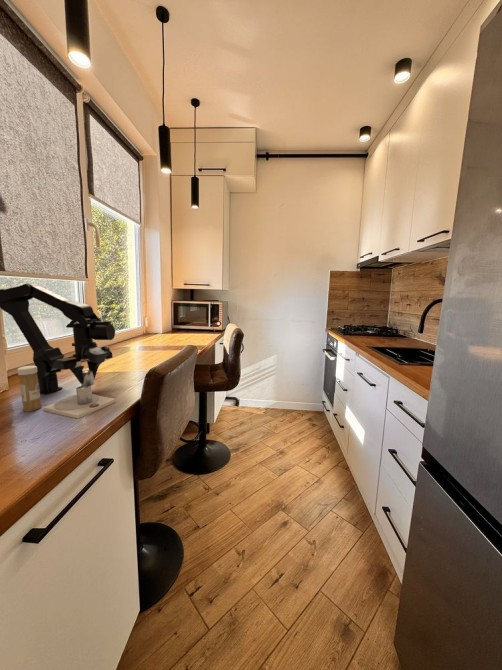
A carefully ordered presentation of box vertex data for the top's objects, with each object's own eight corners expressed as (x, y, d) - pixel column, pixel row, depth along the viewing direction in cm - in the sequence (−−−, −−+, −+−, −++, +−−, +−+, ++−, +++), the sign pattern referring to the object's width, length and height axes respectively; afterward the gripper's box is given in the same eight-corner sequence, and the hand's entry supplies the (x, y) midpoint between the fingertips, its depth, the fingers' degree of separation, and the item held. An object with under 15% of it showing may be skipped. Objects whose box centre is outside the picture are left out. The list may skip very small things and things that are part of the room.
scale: (43, 410, 80) (43, 405, 80) (83, 395, 92) (83, 391, 92) (77, 418, 75) (77, 413, 75) (115, 401, 87) (115, 397, 87)
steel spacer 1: (78, 385, 95) (77, 372, 94) (88, 382, 99) (87, 369, 98) (86, 387, 93) (85, 373, 93) (96, 383, 97) (95, 370, 96)
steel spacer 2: (74, 403, 82) (73, 388, 81) (86, 399, 85) (85, 384, 85) (83, 405, 80) (82, 390, 79) (95, 401, 84) (94, 386, 83)
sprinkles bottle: (40, 409, 81) (35, 367, 79) (21, 413, 78) (15, 369, 76) (42, 404, 85) (37, 364, 83) (24, 407, 82) (18, 366, 80)
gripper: (73, 346, 82) (78, 393, 84) (121, 337, 99) (124, 376, 102) (50, 343, 86) (55, 389, 88) (100, 335, 103) (103, 373, 106)
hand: (87, 381), depth 96 cm, fingers closed on steel spacer 1, 4 cm apart
